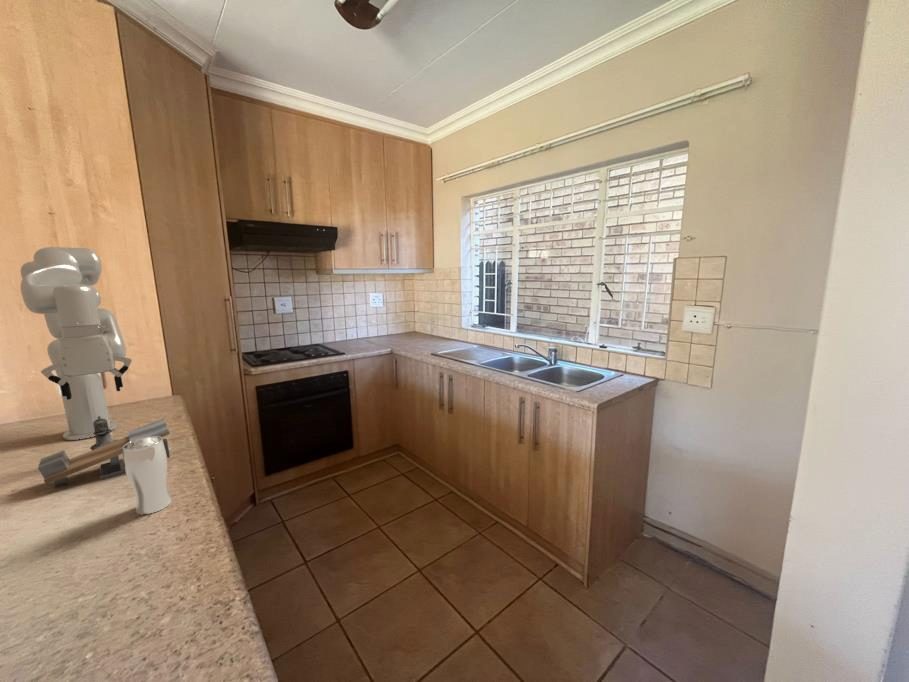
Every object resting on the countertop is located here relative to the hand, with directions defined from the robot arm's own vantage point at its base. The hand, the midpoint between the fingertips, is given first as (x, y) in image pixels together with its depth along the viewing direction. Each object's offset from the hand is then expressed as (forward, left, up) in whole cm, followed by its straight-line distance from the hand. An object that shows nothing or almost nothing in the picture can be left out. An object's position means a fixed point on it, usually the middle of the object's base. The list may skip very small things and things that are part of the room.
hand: (94, 394), depth 100 cm
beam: (+12, +2, -13) cm, 18 cm away
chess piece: (0, 0, -19) cm, 19 cm away
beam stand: (+12, +2, -18) cm, 22 cm away
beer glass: (+39, +8, -19) cm, 44 cm away
